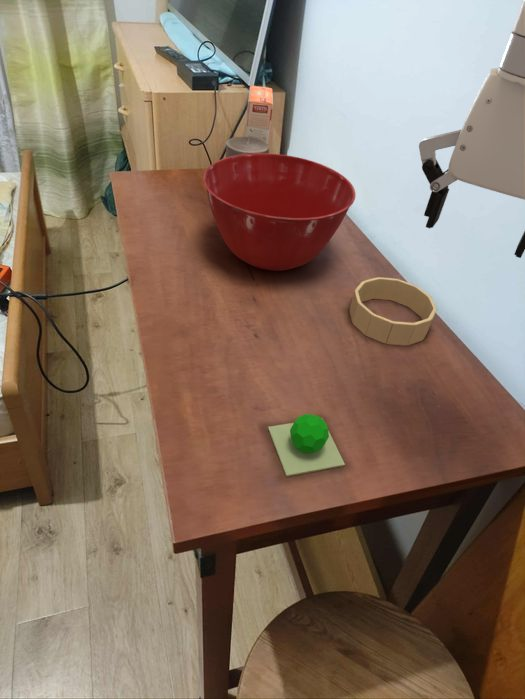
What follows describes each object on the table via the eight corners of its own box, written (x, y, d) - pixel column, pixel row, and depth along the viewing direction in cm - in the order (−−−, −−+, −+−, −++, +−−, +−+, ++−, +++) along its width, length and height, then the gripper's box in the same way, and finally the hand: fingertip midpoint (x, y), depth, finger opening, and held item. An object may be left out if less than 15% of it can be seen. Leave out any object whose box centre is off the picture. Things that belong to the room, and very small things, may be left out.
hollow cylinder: (436, 315, 94) (444, 295, 91) (414, 356, 84) (423, 335, 81) (366, 289, 98) (371, 269, 95) (338, 324, 89) (343, 303, 86)
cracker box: (263, 192, 127) (273, 103, 114) (239, 190, 127) (246, 100, 113) (264, 171, 138) (273, 87, 124) (242, 168, 138) (248, 84, 124)
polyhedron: (285, 456, 65) (290, 431, 62) (290, 427, 69) (295, 403, 66) (323, 463, 65) (330, 440, 62) (326, 434, 69) (333, 410, 66)
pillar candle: (257, 193, 127) (263, 130, 117) (267, 210, 120) (275, 146, 110) (218, 193, 124) (221, 130, 114) (227, 212, 117) (231, 145, 107)
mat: (322, 420, 71) (322, 418, 71) (344, 466, 66) (345, 464, 65) (267, 428, 69) (268, 426, 69) (286, 477, 63) (286, 475, 63)
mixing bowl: (330, 306, 93) (348, 229, 83) (181, 274, 95) (181, 196, 85) (345, 236, 114) (361, 168, 104) (222, 212, 117) (226, 143, 107)
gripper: (653, 78, 45) (559, 250, 56) (459, 39, 50) (408, 203, 61) (657, 94, 40) (553, 279, 51) (440, 48, 45) (389, 225, 56)
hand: (474, 237), depth 56 cm, fingers open, 9 cm apart
